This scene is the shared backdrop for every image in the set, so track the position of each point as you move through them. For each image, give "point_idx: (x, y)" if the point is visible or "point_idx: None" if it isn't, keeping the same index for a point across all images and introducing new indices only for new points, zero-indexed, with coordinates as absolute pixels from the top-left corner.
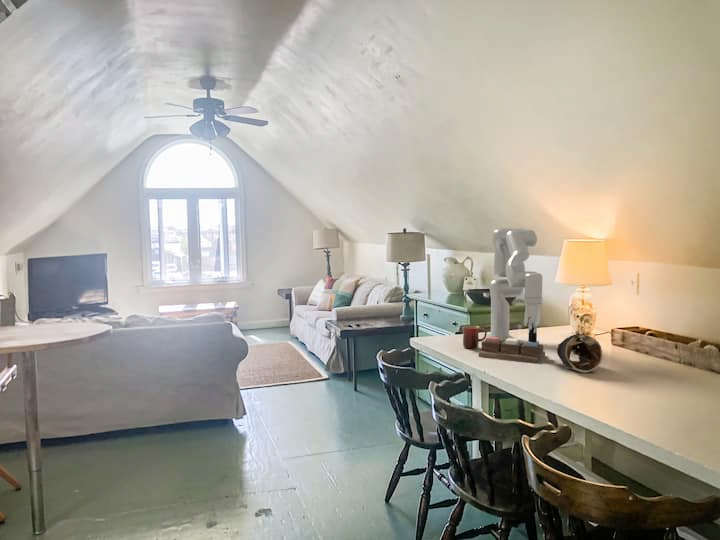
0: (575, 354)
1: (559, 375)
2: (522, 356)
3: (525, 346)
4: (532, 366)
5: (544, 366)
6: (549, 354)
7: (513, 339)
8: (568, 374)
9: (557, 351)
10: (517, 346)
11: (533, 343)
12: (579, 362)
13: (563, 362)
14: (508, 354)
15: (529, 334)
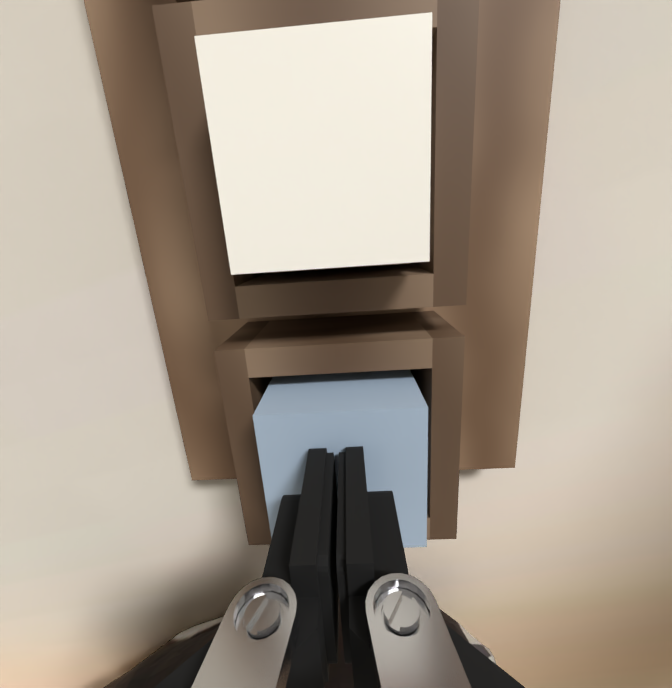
0: None
1: (8, 619)
2: (185, 358)
3: (224, 405)
4: (90, 455)
5: (150, 515)
6: (576, 456)
7: (345, 176)
8: (66, 647)
9: None
10: (210, 301)
11: (269, 508)
12: None
13: (198, 636)
14: (175, 204)
15: (295, 548)
